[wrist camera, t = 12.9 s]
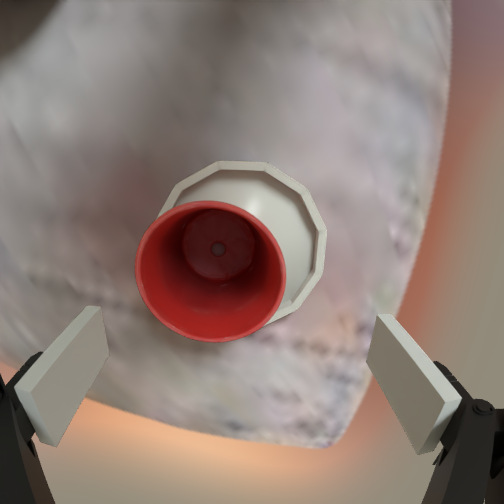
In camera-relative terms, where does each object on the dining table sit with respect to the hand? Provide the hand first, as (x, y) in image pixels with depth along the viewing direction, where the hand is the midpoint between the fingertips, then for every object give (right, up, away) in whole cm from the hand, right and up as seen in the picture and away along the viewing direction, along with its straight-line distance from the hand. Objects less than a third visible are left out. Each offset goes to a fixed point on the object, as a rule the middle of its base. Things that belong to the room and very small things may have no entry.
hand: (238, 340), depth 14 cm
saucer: (-1, +5, +18) cm, 19 cm away
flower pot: (-3, +5, +17) cm, 18 cm away
